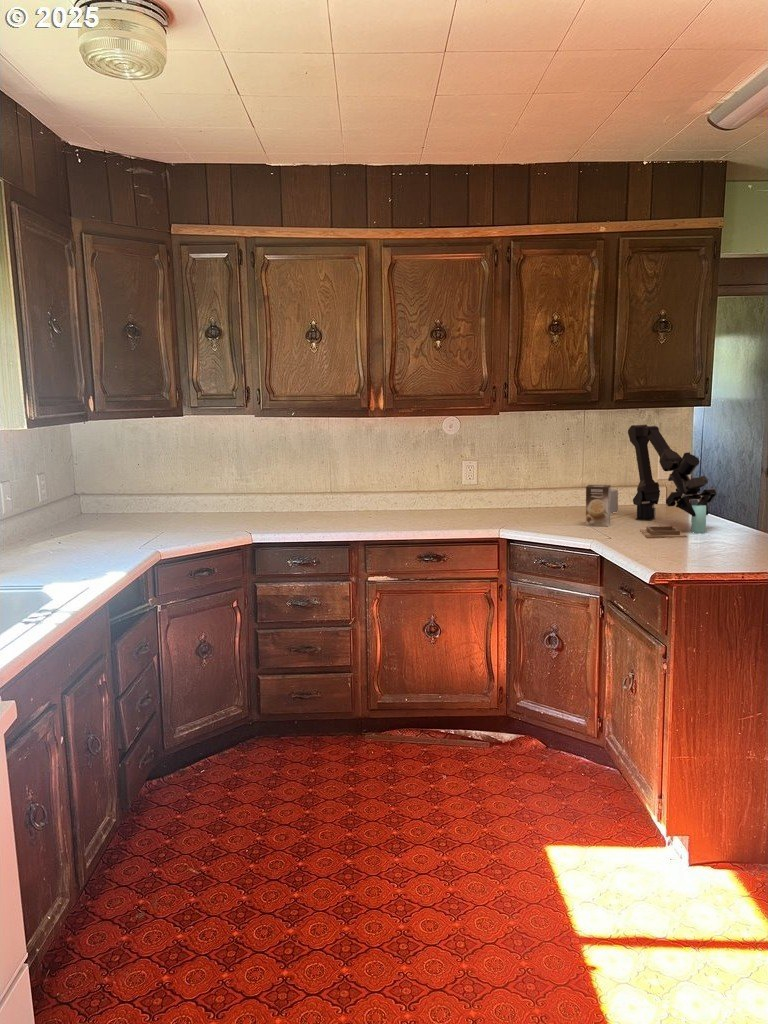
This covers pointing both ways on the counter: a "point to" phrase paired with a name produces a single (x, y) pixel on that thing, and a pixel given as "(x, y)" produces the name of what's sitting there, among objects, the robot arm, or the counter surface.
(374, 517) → the counter surface
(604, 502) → the coffee box
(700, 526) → the green dome-top cylinder
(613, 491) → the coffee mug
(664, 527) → the cradle board
